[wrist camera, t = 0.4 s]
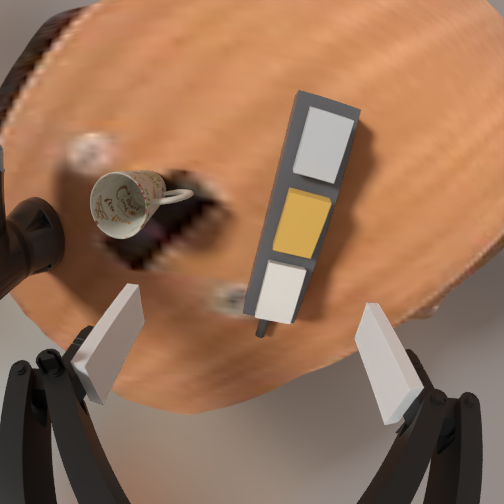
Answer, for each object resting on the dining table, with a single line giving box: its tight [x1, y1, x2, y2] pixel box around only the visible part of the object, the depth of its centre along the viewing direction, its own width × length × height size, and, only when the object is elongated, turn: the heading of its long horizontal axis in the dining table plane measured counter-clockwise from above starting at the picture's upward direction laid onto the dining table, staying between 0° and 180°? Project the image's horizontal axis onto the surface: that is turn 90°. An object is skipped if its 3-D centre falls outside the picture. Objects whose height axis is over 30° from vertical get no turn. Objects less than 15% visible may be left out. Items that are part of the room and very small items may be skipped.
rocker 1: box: [293, 106, 354, 184], centre depth 29 cm, size 5×8×2 cm, turn 167°
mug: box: [90, 170, 193, 239], centre depth 34 cm, size 8×13×10 cm, turn 93°
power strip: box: [243, 90, 361, 338], centre depth 38 cm, size 8×38×5 cm, turn 167°
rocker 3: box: [255, 260, 306, 324], centre depth 37 cm, size 5×8×2 cm, turn 167°
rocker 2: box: [273, 187, 332, 259], centre depth 33 cm, size 5×8×2 cm, turn 167°
